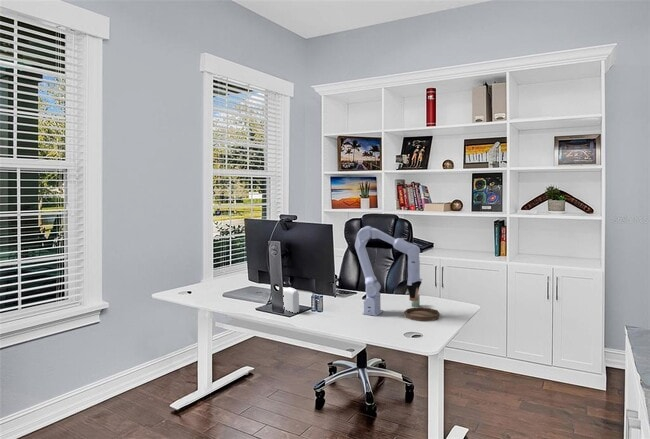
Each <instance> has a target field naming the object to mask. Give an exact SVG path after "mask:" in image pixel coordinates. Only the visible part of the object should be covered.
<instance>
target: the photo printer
mask: <svg viewBox="0 0 650 439" xmlns="http://www.w3.org/2000/svg"><path fill="white" fill-rule="evenodd" d="M283 295H284V297H282V298H283V300H282V302H284V305H283V308H284V307H285V310H284V311H286V310H287V311H286V312H289V311H290V313H292V312H293V313H292V314H298V313H299V312H300V294H299V291H298V290H297V289H295V288H293V287H289V286H288V287H284V288H283V291H282V296H283ZM297 312H298V313H297Z"/></svg>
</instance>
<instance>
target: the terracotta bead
mask: <svg viewBox="0 0 650 439" xmlns="http://www.w3.org/2000/svg"><path fill="white" fill-rule="evenodd" d="M418 295H419V291H418V288H416V294H415V298H410V295H409V296H408V299H409V301H411V302H412V301H418Z"/></svg>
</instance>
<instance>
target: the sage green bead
mask: <svg viewBox="0 0 650 439" xmlns="http://www.w3.org/2000/svg"><path fill="white" fill-rule="evenodd" d="M420 304H421V302H420V294H418V301H411V308H417V307H420V306H421V305H420Z"/></svg>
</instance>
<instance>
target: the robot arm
mask: <svg viewBox="0 0 650 439" xmlns="http://www.w3.org/2000/svg"><path fill="white" fill-rule="evenodd" d="M370 239H372V240H373V239H374V240H375V239H378V240H382V241H384V242H386V243H388V244H390V245H392V246H393V249H395V250H396V251H399V252H400V253H402V254H405V255H407V256H408V257H407V259H408V260H407V281H406V282H407V283H405V286H406V288H407V290H408V291H407V292H408V294H409V295H410V298H415V294H416V288H418V292H419V291H420V287H421V285H422V283H423V282H422V281H423V279H422V278H421V274H420V269H421V267H420V266H421V263H420V262H421V261H420V253H421V249H420V247H419V246H418V245H417V244H413V243H412V242H409V241H406V240H405V239H404V238H403V237H401V238H400V237H397V238H394V237H393V236H391V235H389V234H387V233H386V232H384V231H382V230H380V229H378V228H376V227H372V226H370V225H365V226H364V227H362V228H360V229H359V231H358V232H357V233H356V238H355V243H354V249H355V251H356V254H357V257H358V260H359V264H360V268H361V270H362V274H363V277H364V284H365V293H366V294H365V296H366V298H365V300H364V301H363V312H362V315H367V316H368V315H369V316H374V317H375V316H376V317H377V316H379V315H380V314H382V313H383V312H384V309H381V305H382V304H381V293H380V290H381V289H382V286H381V283H380V282H379V281H378V278H377V277H376V275H375V272H374V271H373V266H372V263H371V260H370V256H369V253H368V250H367V248H366V245H367V243H368V242H369V240H370Z"/></svg>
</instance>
